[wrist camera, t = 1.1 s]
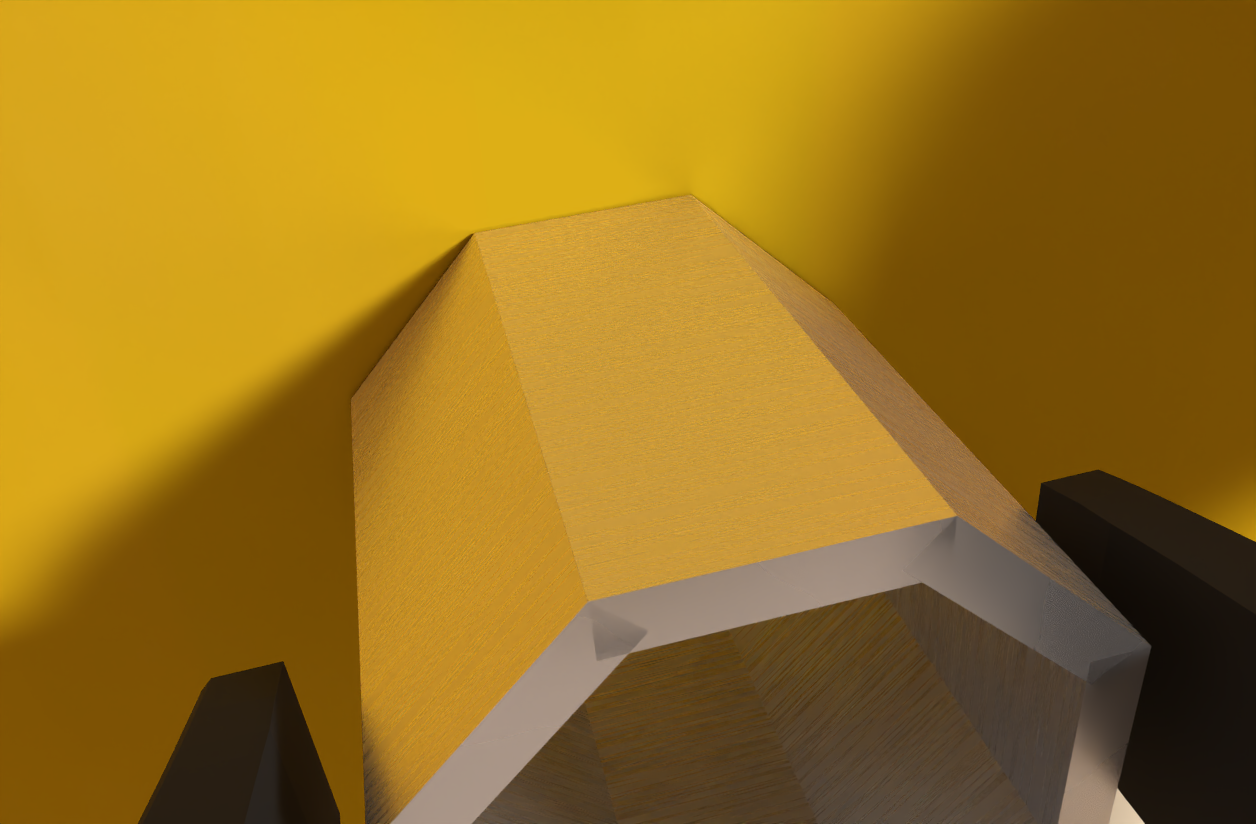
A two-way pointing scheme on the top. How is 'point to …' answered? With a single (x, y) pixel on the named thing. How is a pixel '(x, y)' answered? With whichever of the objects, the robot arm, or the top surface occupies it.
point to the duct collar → (701, 560)
